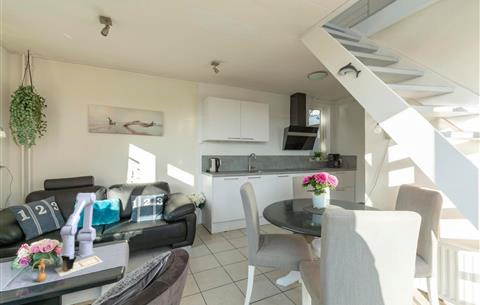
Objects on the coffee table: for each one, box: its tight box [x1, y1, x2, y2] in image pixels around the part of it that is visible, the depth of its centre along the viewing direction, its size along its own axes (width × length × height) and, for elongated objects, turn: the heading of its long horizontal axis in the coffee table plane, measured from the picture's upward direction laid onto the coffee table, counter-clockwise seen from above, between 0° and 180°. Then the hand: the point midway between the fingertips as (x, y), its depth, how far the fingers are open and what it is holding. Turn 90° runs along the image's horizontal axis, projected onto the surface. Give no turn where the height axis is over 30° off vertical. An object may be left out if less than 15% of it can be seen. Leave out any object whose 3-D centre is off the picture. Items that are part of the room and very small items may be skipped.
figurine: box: [31, 257, 52, 282], centre depth 119 cm, size 8×6×12 cm
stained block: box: [61, 260, 74, 272], centre depth 130 cm, size 4×4×5 cm
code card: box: [54, 255, 104, 277], centre depth 134 cm, size 13×22×1 cm, turn 142°
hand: (68, 267), depth 130 cm, fingers open, 7 cm apart
